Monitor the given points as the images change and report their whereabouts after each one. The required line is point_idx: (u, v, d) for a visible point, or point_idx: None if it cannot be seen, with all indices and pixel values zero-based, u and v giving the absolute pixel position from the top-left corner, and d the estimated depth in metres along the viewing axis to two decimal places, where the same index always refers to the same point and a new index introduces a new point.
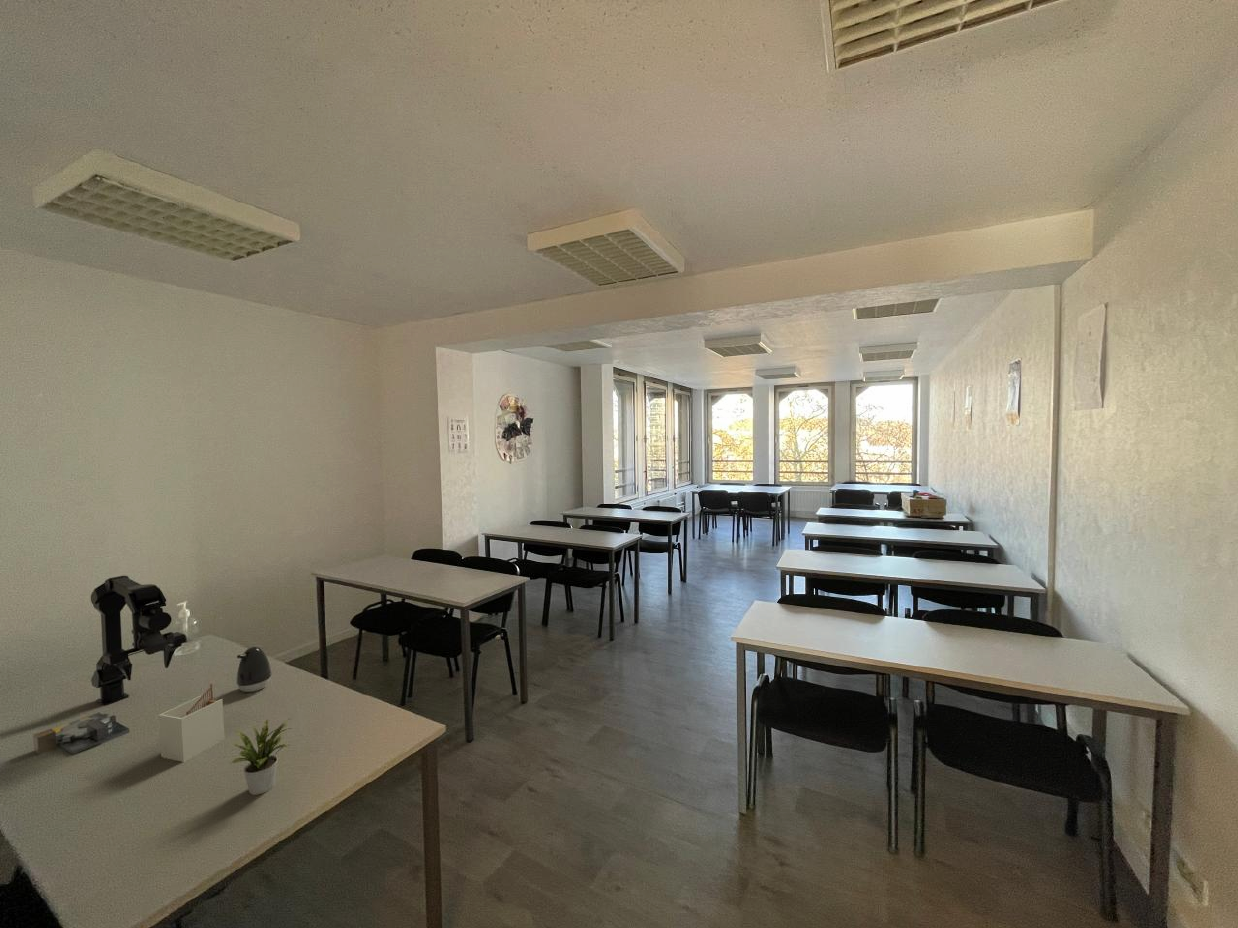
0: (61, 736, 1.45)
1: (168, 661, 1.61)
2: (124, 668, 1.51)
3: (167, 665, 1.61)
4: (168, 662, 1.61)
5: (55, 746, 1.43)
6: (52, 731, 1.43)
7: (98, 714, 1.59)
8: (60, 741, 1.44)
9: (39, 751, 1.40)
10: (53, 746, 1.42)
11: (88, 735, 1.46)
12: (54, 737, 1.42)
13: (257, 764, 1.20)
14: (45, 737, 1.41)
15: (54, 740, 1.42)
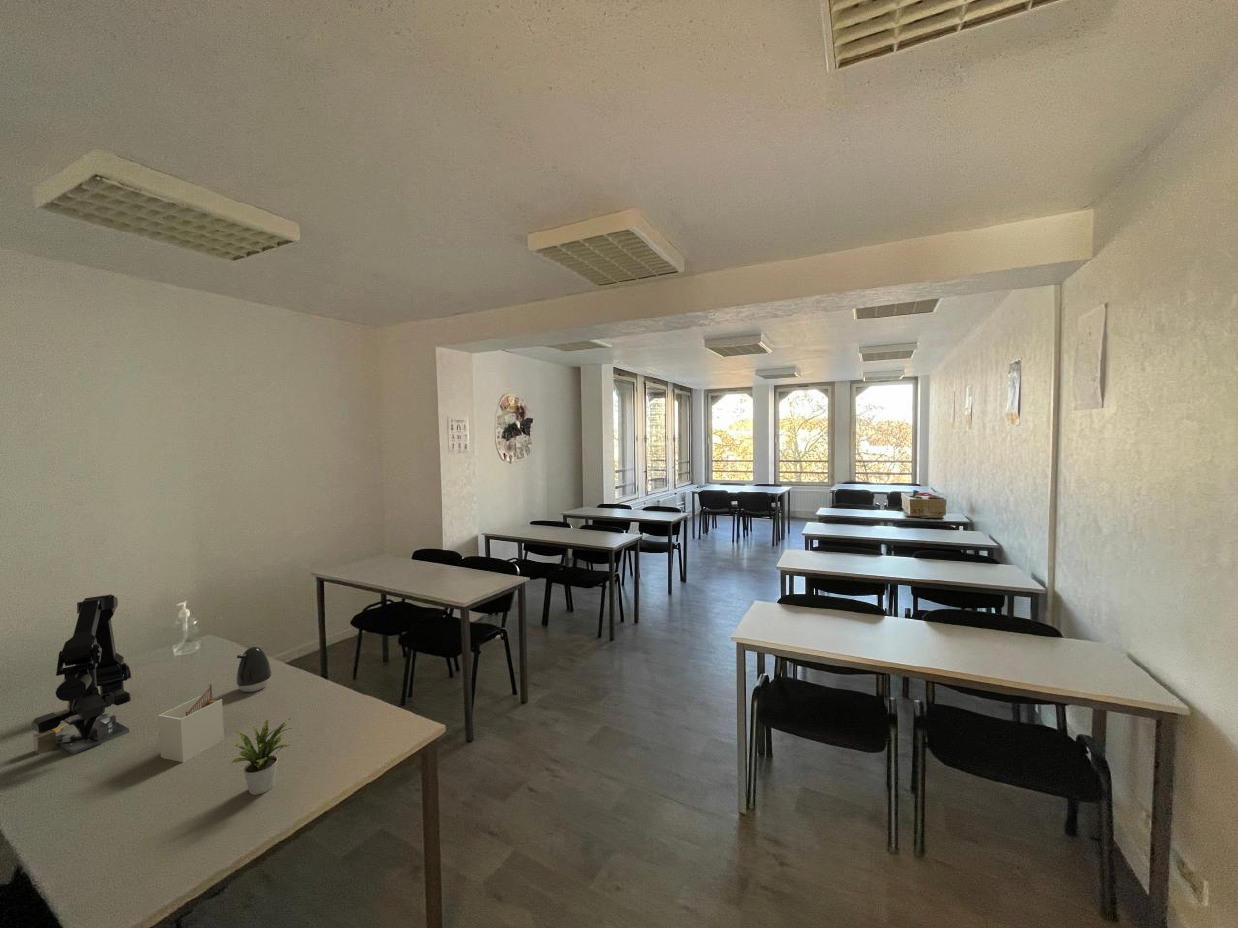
0: (61, 736, 1.45)
1: (88, 731, 1.43)
2: (79, 726, 1.41)
3: (87, 735, 1.43)
4: (88, 732, 1.43)
5: (55, 746, 1.43)
6: (52, 731, 1.43)
7: None
8: (60, 741, 1.44)
9: (39, 751, 1.40)
10: (53, 746, 1.42)
11: None
12: (54, 737, 1.42)
13: (257, 764, 1.20)
14: (45, 737, 1.41)
15: (54, 740, 1.42)
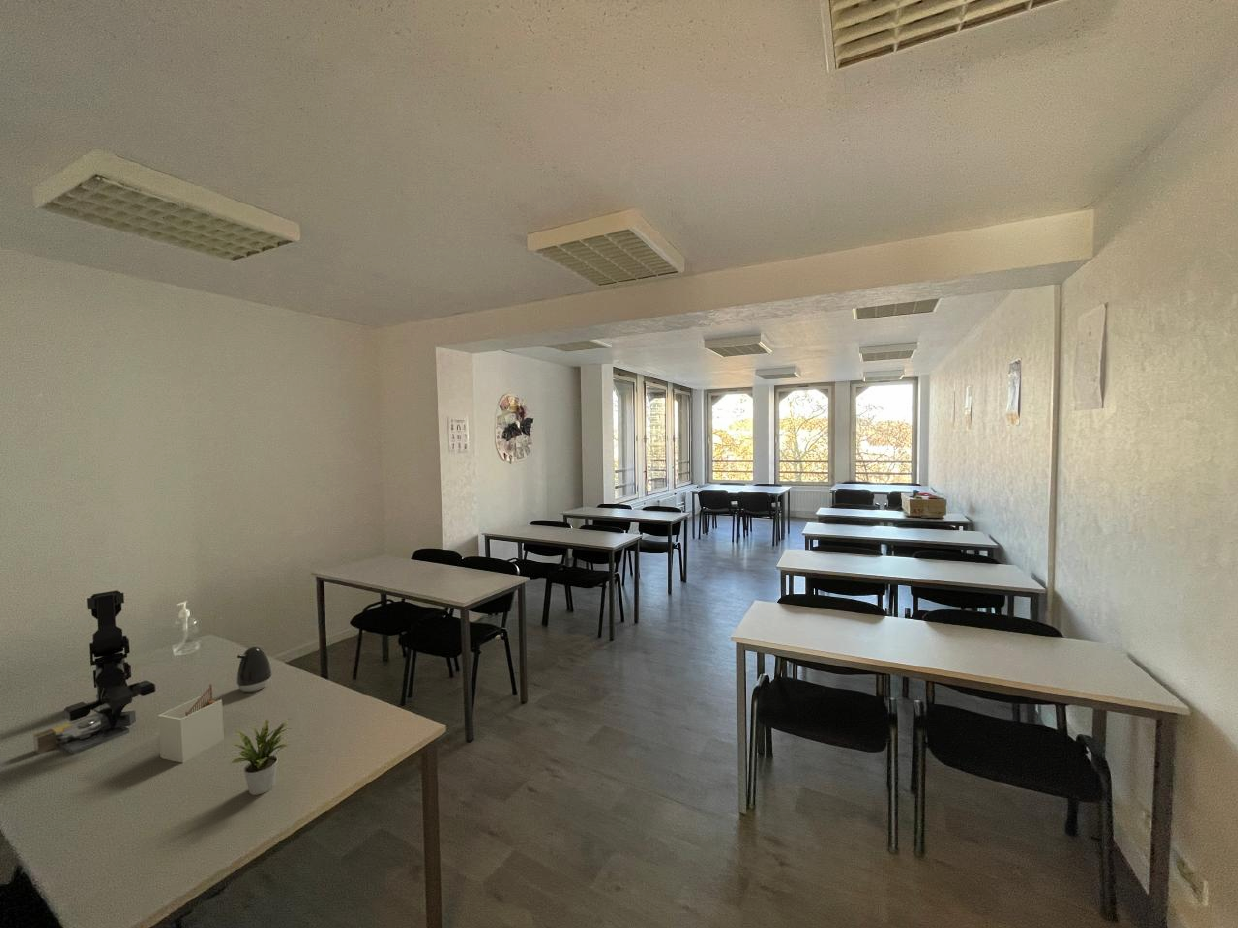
0: (71, 737, 1.44)
1: (115, 720, 1.48)
2: (107, 715, 1.46)
3: (114, 724, 1.48)
4: (115, 721, 1.48)
5: (55, 746, 1.43)
6: (52, 731, 1.43)
7: (98, 714, 1.59)
8: None
9: (39, 751, 1.40)
10: (53, 746, 1.42)
11: (106, 727, 1.49)
12: (54, 737, 1.42)
13: (257, 764, 1.20)
14: (45, 737, 1.41)
15: (54, 740, 1.42)
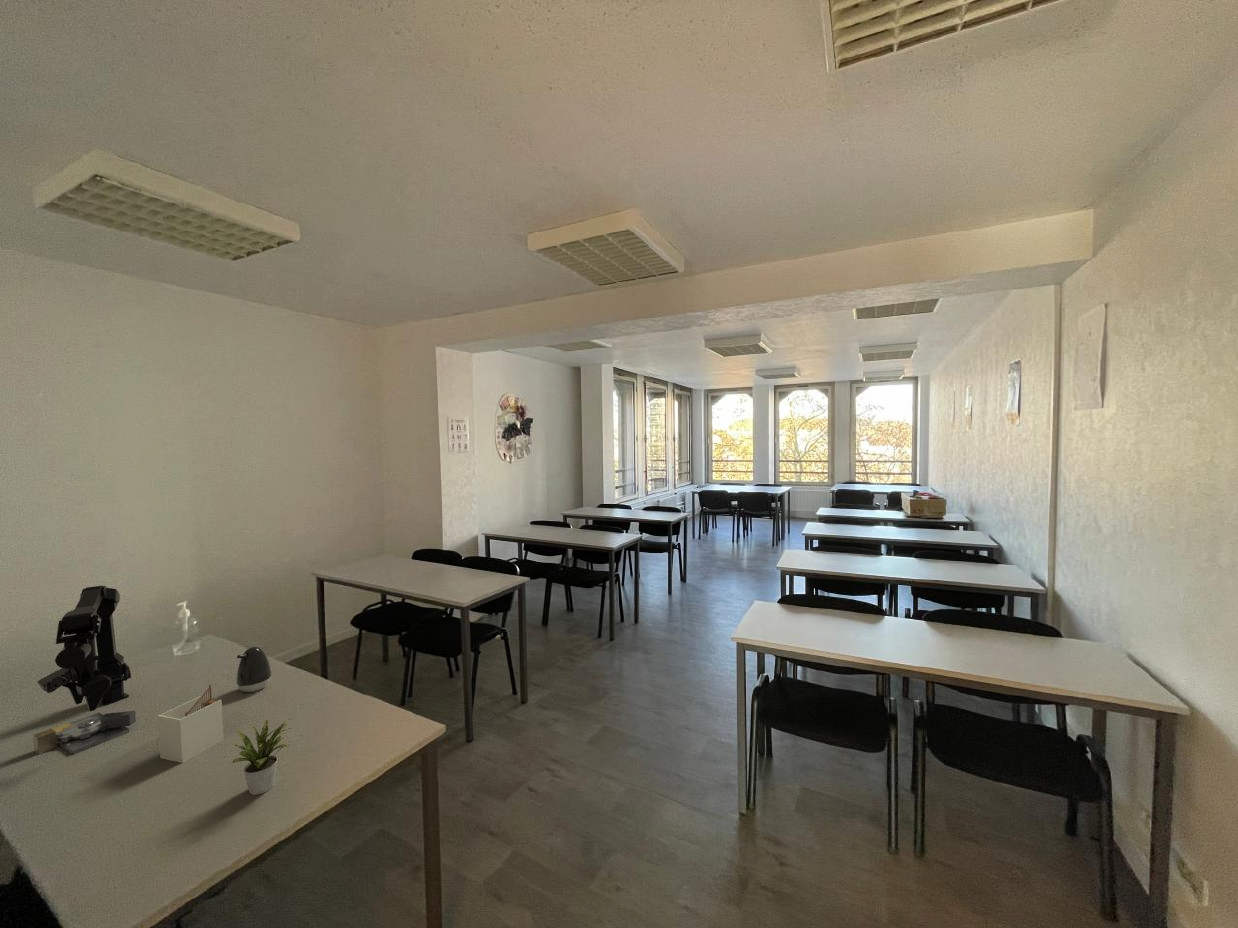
0: (71, 737, 1.44)
1: (87, 705, 1.41)
2: (69, 690, 1.46)
3: None
4: (88, 706, 1.42)
5: (55, 746, 1.43)
6: (52, 731, 1.43)
7: (98, 714, 1.59)
8: None
9: (39, 751, 1.40)
10: (53, 746, 1.42)
11: (106, 727, 1.49)
12: (54, 737, 1.42)
13: (257, 764, 1.20)
14: (45, 737, 1.41)
15: (54, 740, 1.42)
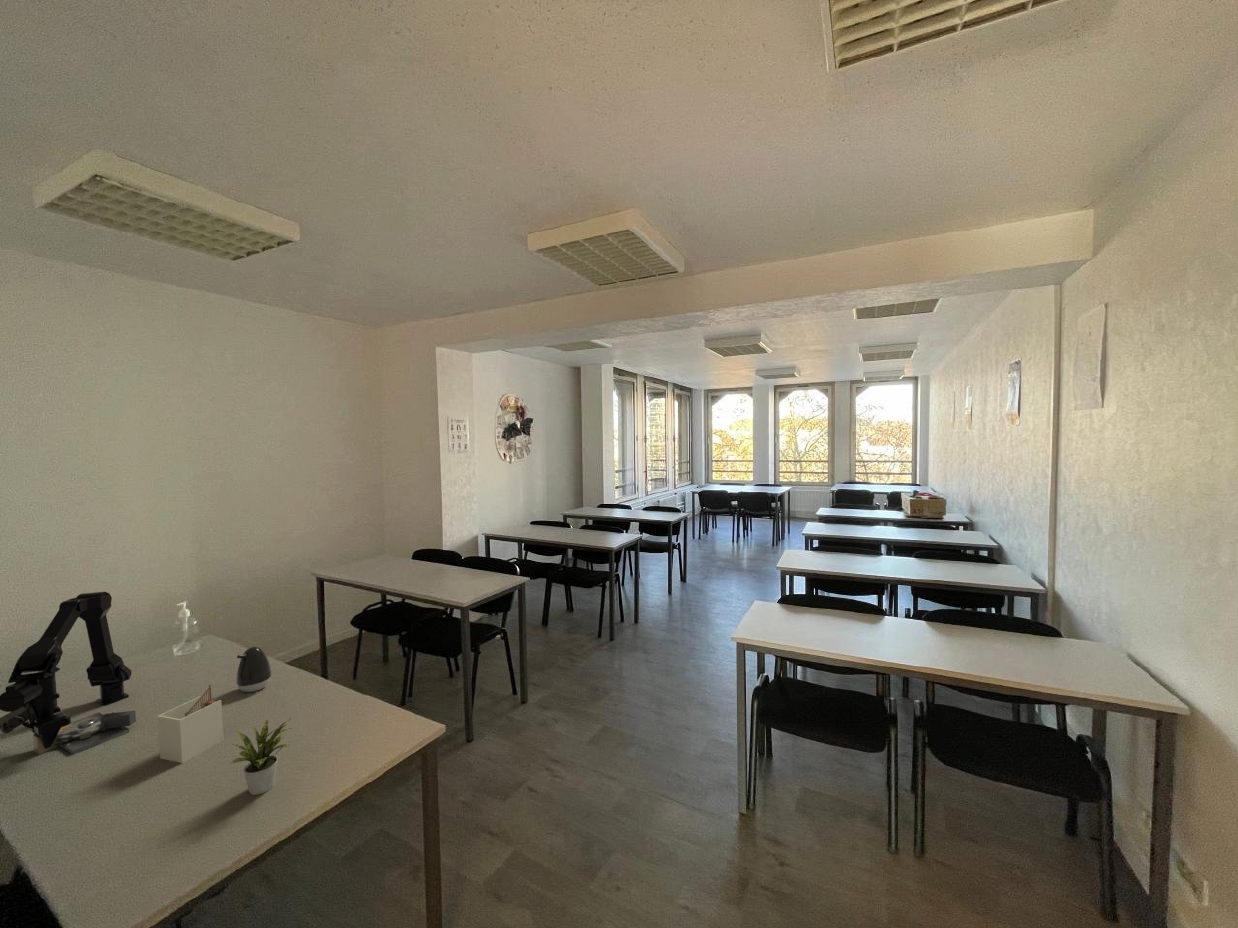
0: (71, 737, 1.44)
1: (42, 742, 1.40)
2: None
3: None
4: (43, 743, 1.40)
5: (55, 746, 1.43)
6: None
7: (98, 714, 1.59)
8: None
9: (39, 751, 1.40)
10: (53, 746, 1.42)
11: (106, 727, 1.49)
12: None
13: (257, 764, 1.20)
14: None
15: (54, 740, 1.42)
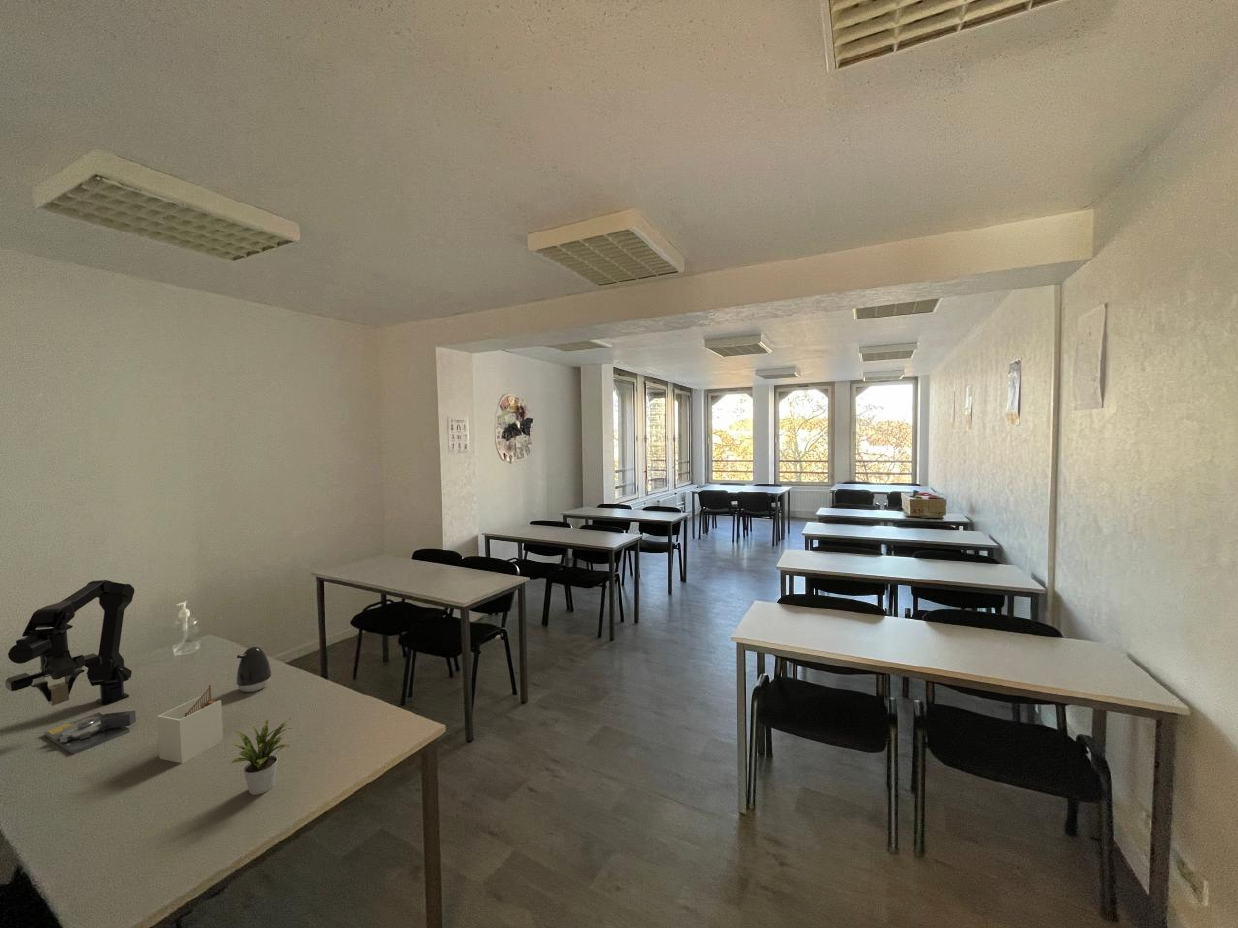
0: (71, 737, 1.44)
1: (69, 688, 1.51)
2: (42, 689, 1.46)
3: None
4: (69, 689, 1.52)
5: None
6: (60, 683, 1.51)
7: (98, 714, 1.59)
8: None
9: None
10: None
11: (106, 727, 1.49)
12: None
13: (257, 764, 1.20)
14: None
15: None
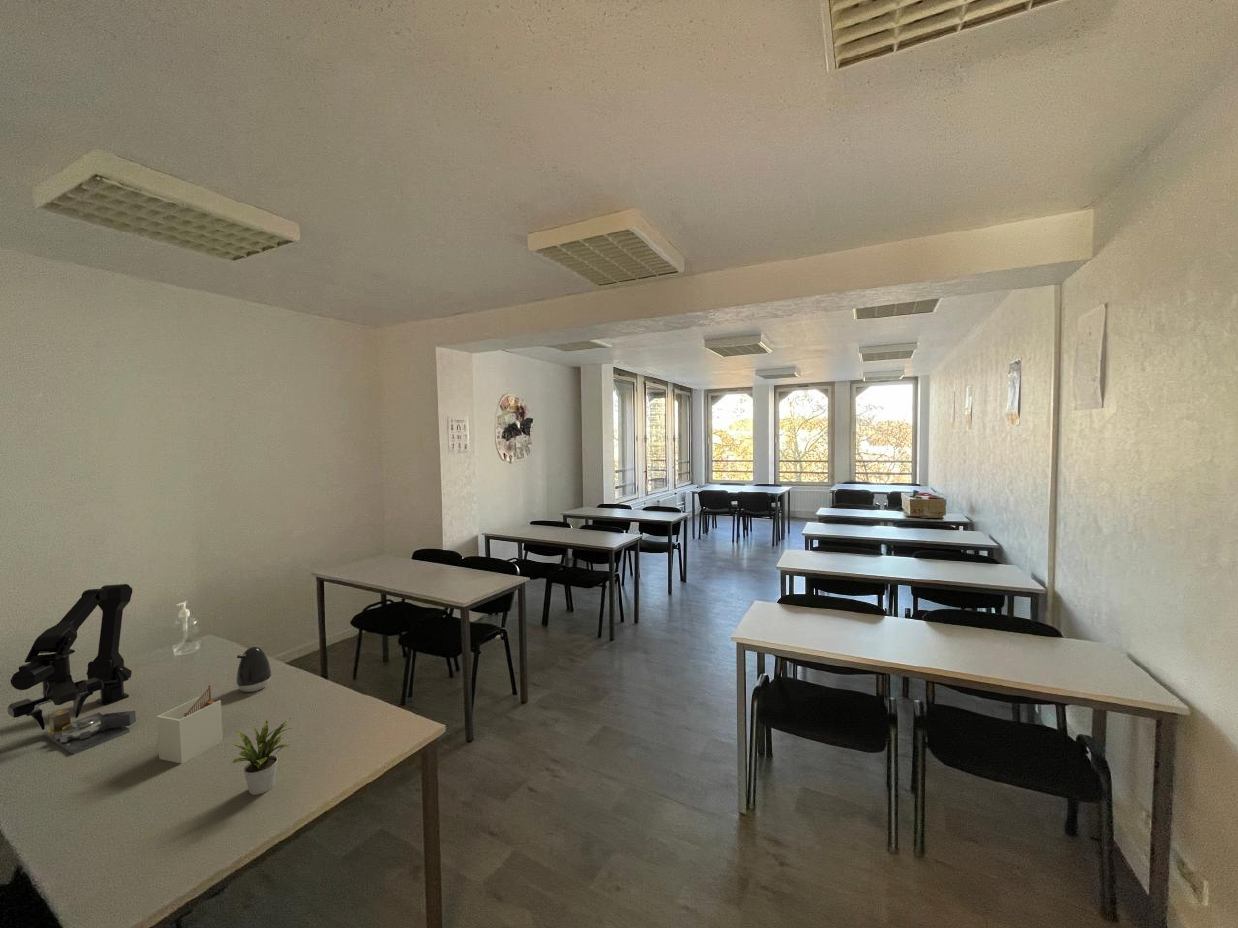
0: (71, 737, 1.44)
1: (77, 711, 1.53)
2: (37, 718, 1.45)
3: (76, 715, 1.53)
4: (77, 712, 1.53)
5: None
6: (62, 710, 1.52)
7: (98, 714, 1.59)
8: None
9: None
10: None
11: (106, 727, 1.49)
12: None
13: (257, 764, 1.20)
14: None
15: None
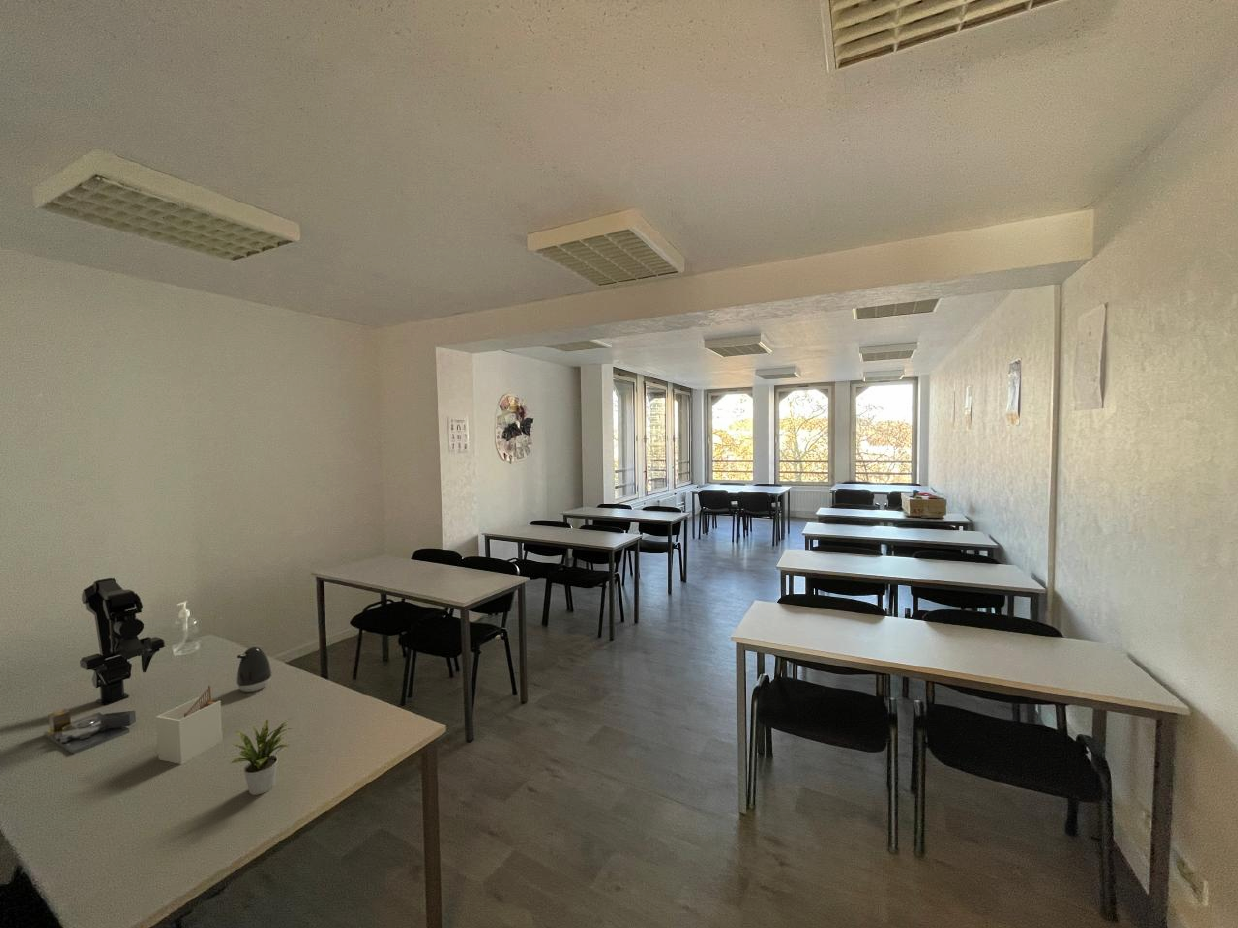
0: (71, 737, 1.44)
1: (146, 666, 1.64)
2: (101, 673, 1.54)
3: (145, 669, 1.64)
4: (146, 667, 1.64)
5: None
6: (62, 710, 1.52)
7: (98, 714, 1.59)
8: None
9: None
10: None
11: (106, 727, 1.49)
12: None
13: (257, 764, 1.20)
14: None
15: None
